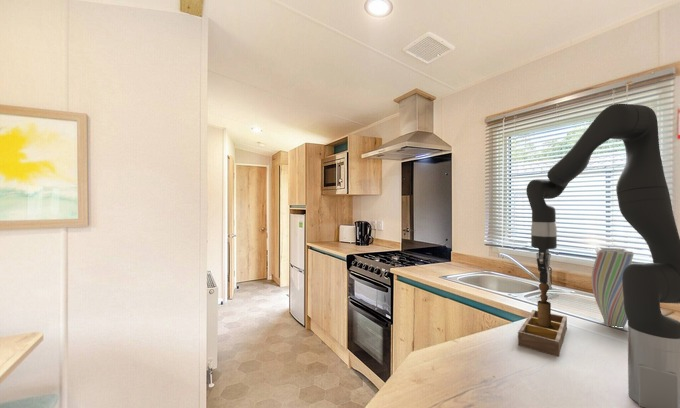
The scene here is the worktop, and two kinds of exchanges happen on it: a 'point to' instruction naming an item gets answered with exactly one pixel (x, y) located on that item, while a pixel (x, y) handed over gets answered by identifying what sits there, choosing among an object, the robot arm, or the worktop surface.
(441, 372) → the worktop surface
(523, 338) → the rack
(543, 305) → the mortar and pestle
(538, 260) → the robot arm
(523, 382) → the worktop surface
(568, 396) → the worktop surface
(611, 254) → the vase
